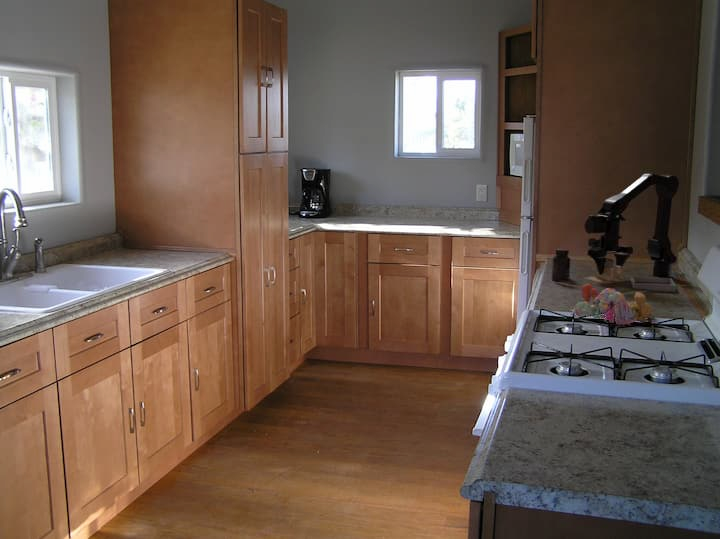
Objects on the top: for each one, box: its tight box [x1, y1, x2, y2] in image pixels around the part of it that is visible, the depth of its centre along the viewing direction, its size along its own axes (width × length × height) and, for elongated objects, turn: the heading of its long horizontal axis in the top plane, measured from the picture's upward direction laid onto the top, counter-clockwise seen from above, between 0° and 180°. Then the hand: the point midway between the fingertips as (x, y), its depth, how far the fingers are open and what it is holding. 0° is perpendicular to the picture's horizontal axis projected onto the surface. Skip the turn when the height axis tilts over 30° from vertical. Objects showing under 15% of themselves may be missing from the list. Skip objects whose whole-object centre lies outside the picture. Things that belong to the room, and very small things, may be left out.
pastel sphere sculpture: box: [570, 283, 656, 326], centre depth 242 cm, size 25×24×9 cm
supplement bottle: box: [551, 248, 572, 283], centre depth 297 cm, size 7×7×12 cm
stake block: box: [582, 257, 629, 284], centre depth 297 cm, size 12×12×9 cm
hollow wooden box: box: [595, 263, 623, 282], centre depth 297 cm, size 6×8×5 cm
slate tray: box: [630, 276, 677, 293], centre depth 286 cm, size 14×14×2 cm
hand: (609, 273), depth 298 cm, fingers open, 9 cm apart
